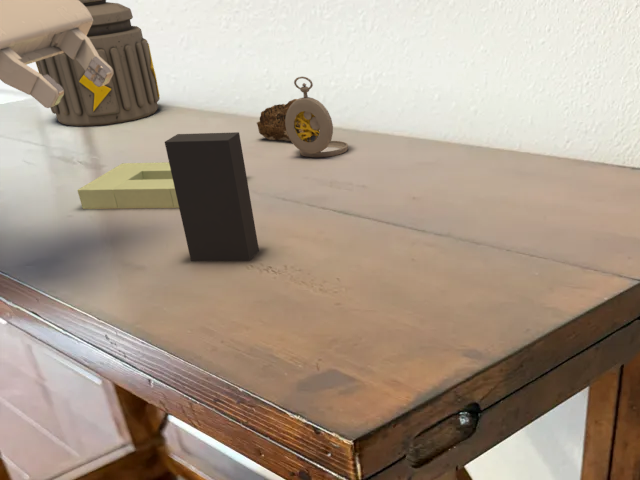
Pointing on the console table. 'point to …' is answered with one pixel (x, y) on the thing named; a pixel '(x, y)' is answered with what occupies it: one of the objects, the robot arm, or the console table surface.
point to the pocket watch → (311, 126)
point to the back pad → (213, 196)
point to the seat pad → (131, 188)
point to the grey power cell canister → (128, 67)
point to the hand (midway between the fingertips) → (84, 89)
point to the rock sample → (275, 122)
